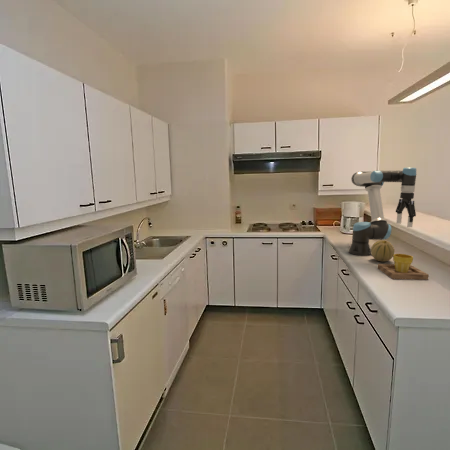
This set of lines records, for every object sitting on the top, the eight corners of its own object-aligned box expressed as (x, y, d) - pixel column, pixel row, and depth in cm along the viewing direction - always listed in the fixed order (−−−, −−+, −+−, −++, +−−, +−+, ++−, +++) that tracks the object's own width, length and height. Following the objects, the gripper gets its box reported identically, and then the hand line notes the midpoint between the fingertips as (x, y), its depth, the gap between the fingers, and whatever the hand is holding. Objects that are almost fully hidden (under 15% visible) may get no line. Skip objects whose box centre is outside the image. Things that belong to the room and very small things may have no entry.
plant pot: (400, 267, 200) (401, 252, 199) (415, 272, 191) (417, 257, 189) (388, 269, 197) (389, 254, 195) (402, 274, 187) (404, 258, 185)
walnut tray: (377, 268, 204) (377, 264, 203) (409, 269, 203) (410, 264, 203) (392, 279, 184) (393, 274, 184) (428, 279, 184) (428, 274, 183)
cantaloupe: (381, 257, 230) (382, 237, 227) (398, 263, 216) (400, 241, 214) (364, 259, 224) (366, 238, 222) (381, 265, 211) (384, 243, 208)
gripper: (391, 190, 215) (388, 222, 219) (412, 193, 191) (408, 228, 194) (403, 191, 215) (400, 222, 219) (424, 193, 191) (420, 228, 194)
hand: (404, 225), depth 207 cm, fingers open, 13 cm apart
